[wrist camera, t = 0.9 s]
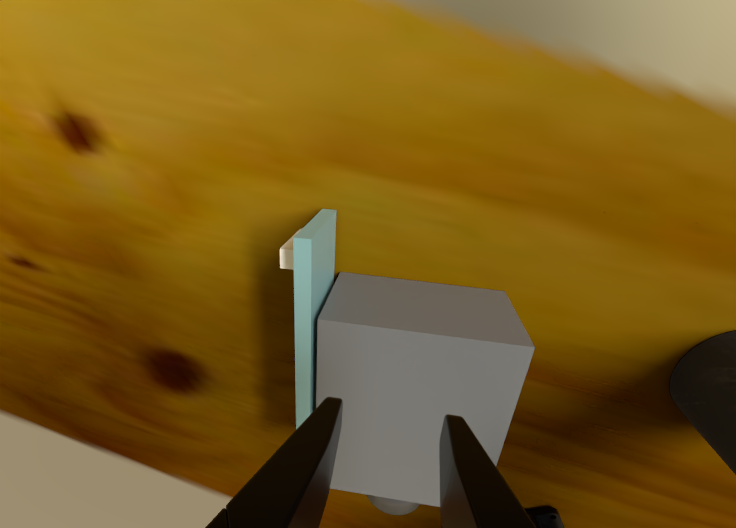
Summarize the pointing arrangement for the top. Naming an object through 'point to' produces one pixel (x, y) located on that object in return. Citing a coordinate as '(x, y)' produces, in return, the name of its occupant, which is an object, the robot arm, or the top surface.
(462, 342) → the block
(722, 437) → the travel mug
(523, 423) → the top surface
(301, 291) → the side door
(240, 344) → the top surface
